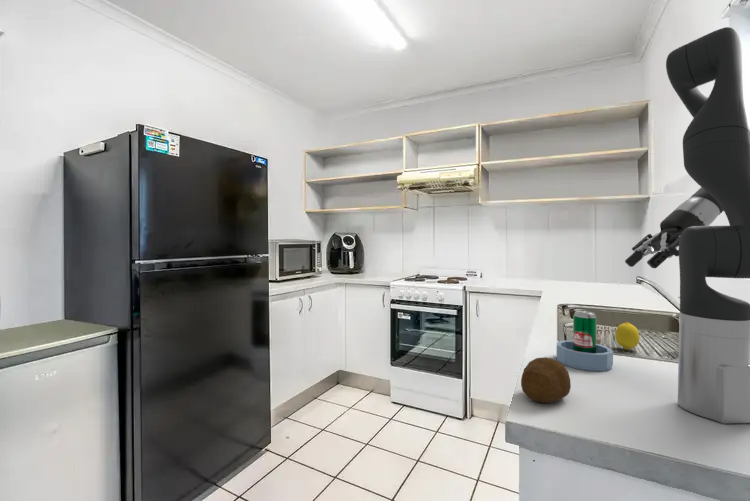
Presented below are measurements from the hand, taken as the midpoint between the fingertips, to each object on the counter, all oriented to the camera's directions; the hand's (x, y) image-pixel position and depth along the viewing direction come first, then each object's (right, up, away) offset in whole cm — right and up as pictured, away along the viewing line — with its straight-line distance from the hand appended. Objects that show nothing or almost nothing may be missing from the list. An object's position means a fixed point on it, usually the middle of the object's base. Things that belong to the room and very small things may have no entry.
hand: (638, 265), depth 87 cm
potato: (-33, -25, -19) cm, 45 cm away
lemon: (+6, -25, +13) cm, 29 cm away
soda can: (-13, -24, +1) cm, 27 cm away
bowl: (-13, -25, +1) cm, 28 cm away
